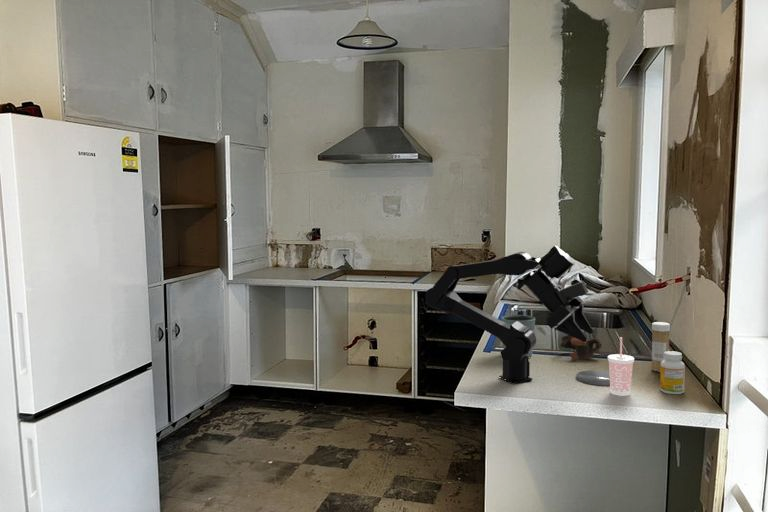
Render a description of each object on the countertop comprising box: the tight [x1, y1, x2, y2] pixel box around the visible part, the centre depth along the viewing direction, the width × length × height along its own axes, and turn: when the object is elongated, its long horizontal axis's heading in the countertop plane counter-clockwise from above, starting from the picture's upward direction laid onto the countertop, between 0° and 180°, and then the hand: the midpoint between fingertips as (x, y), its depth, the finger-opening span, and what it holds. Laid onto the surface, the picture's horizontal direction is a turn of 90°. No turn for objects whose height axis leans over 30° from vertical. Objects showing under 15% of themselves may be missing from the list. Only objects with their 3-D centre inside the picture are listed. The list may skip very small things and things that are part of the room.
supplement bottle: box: [659, 350, 686, 395], centre depth 148 cm, size 5×5×10 cm
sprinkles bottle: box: [651, 321, 671, 373], centre depth 166 cm, size 5×5×13 cm
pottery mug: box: [559, 334, 602, 361], centre depth 183 cm, size 12×10×8 cm
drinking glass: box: [501, 314, 536, 357], centre depth 185 cm, size 10×10×12 cm
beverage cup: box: [607, 336, 635, 397], centre depth 148 cm, size 6×6×14 cm
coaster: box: [575, 369, 610, 387], centre depth 160 cm, size 12×12×1 cm
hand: (589, 336), depth 151 cm, fingers open, 9 cm apart
